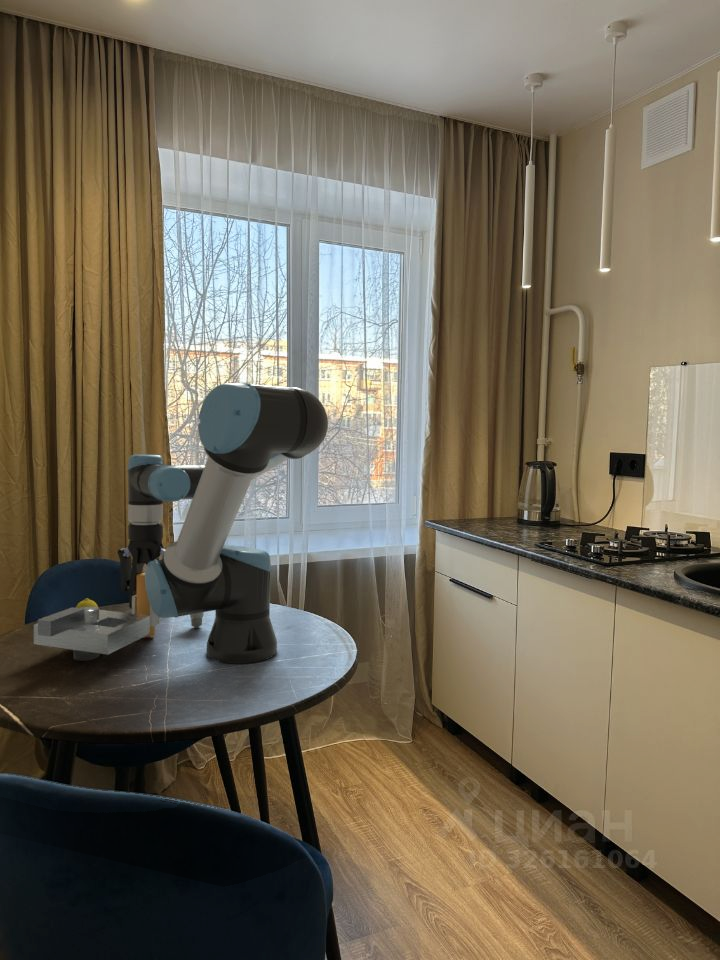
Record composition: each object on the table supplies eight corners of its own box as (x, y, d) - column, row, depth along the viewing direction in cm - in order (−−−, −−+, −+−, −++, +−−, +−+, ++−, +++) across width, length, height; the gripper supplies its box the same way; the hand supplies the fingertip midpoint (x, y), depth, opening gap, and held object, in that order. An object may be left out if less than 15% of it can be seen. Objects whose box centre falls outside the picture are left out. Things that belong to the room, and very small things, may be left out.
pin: (158, 633, 153) (158, 573, 152) (148, 638, 149) (148, 577, 148) (143, 631, 154) (143, 572, 153) (132, 636, 150) (132, 575, 149)
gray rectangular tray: (149, 652, 142) (149, 602, 141) (90, 683, 124) (90, 626, 123) (81, 642, 147) (80, 594, 146) (14, 671, 129) (14, 616, 128)
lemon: (90, 636, 151) (90, 602, 151) (68, 634, 153) (68, 600, 152) (104, 629, 157) (104, 596, 156) (83, 627, 158) (83, 594, 157)
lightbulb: (178, 629, 159) (178, 584, 158) (193, 622, 164) (194, 579, 163) (199, 633, 156) (200, 587, 155) (214, 626, 162) (215, 582, 161)
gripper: (187, 522, 151) (187, 623, 152) (123, 518, 155) (123, 616, 157) (169, 526, 144) (169, 631, 145) (103, 522, 148) (103, 624, 150)
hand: (145, 623), depth 151 cm, fingers closed on pin, 4 cm apart
